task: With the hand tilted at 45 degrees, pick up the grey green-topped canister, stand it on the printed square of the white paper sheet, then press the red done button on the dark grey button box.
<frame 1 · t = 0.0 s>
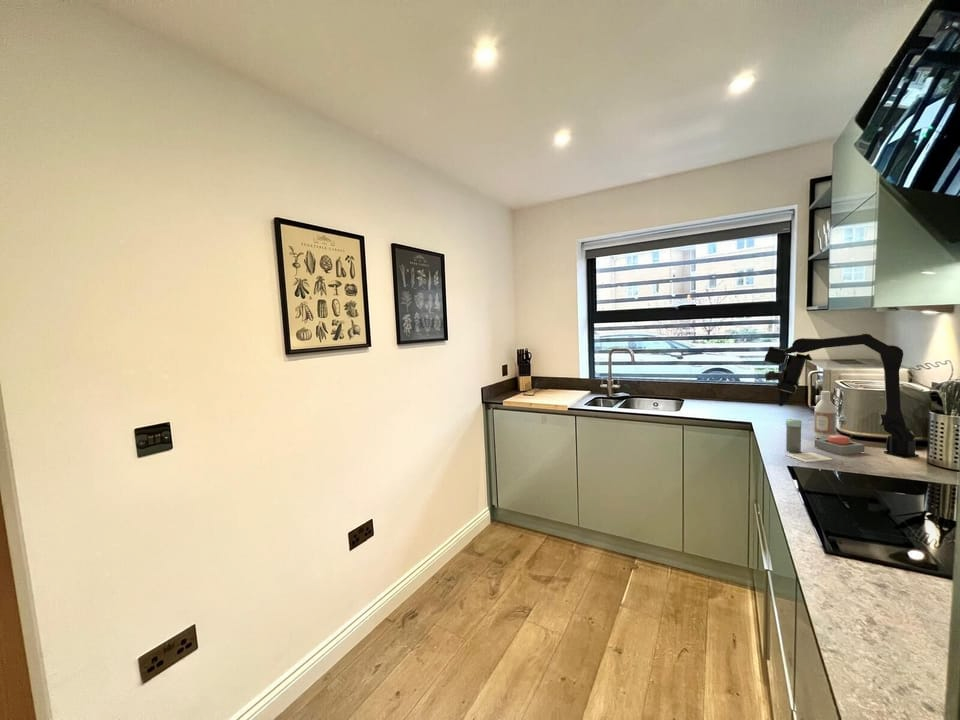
hand: (781, 404, 165), 15 cm above the counter, tool pointing down, fingers open, 9 cm apart
bath foam: (824, 438, 166), on the counter
grey green-topped canister: (793, 451, 151), on the counter
button box: (838, 449, 151), on the counter
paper: (808, 457, 144), on the counter
done button: (838, 441, 150), point 3 cm above the counter, slide at 0.0 cm
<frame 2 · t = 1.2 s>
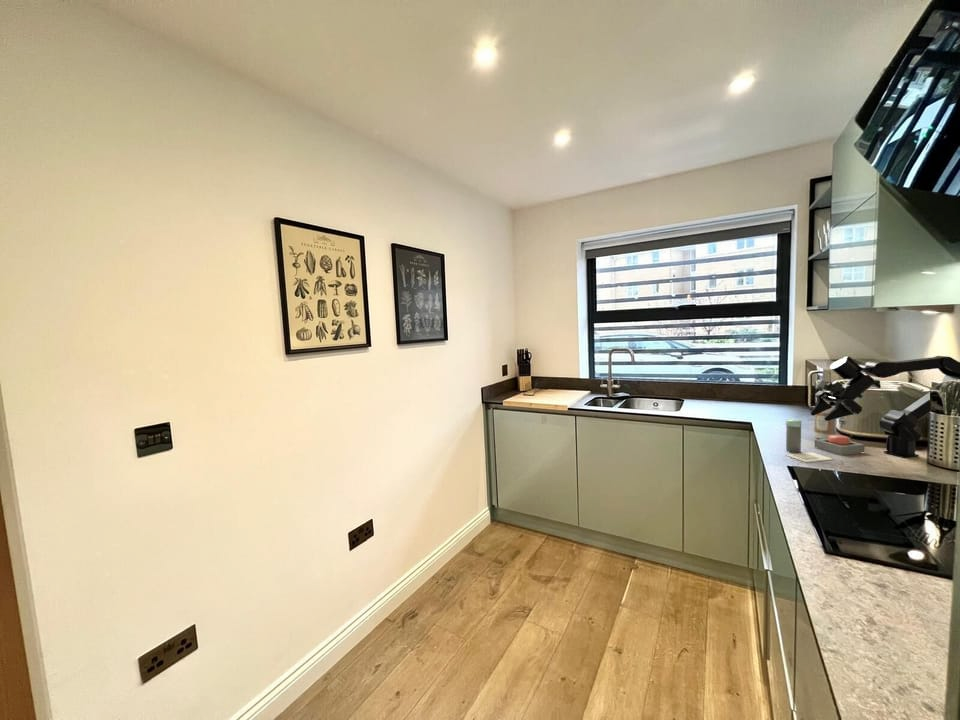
hand: (818, 417, 149), 13 cm above the counter, tool tilted 45°, fingers open, 9 cm apart
nothing on the counter moved.
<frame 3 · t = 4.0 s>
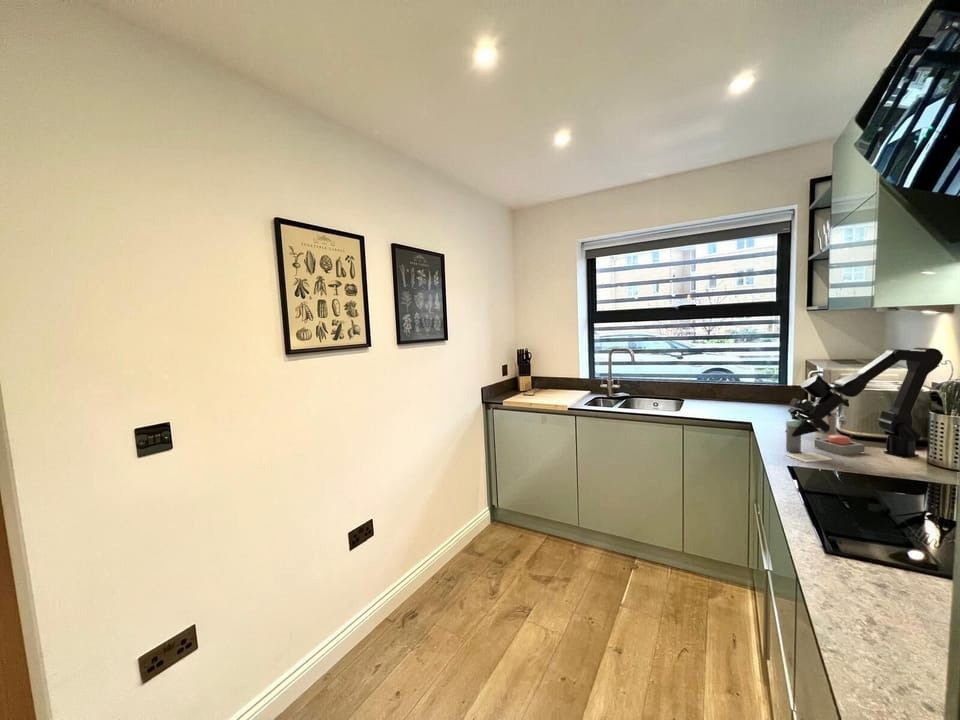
hand: (789, 434, 151), 7 cm above the counter, tool tilted 45°, fingers closed on grey green-topped canister, 4 cm apart
grey green-topped canister: (793, 451, 151), on the counter, touching gripper
everything else where it was.
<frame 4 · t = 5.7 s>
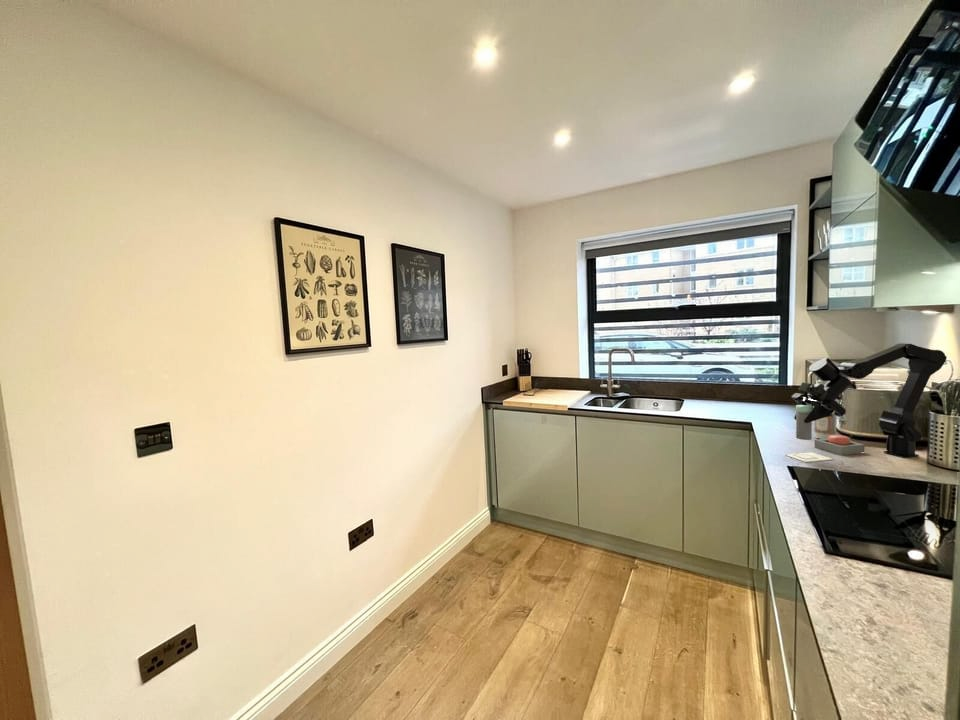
hand: (800, 420, 144), 13 cm above the counter, tool tilted 45°, fingers closed on grey green-topped canister, 4 cm apart
grey green-topped canister: (803, 438, 145), point 7 cm above the counter, touching gripper
everything else where it was.
when the fingers open (7 cm above the counter, at t = 7.5 s): grey green-topped canister stays where it is, resting on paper.
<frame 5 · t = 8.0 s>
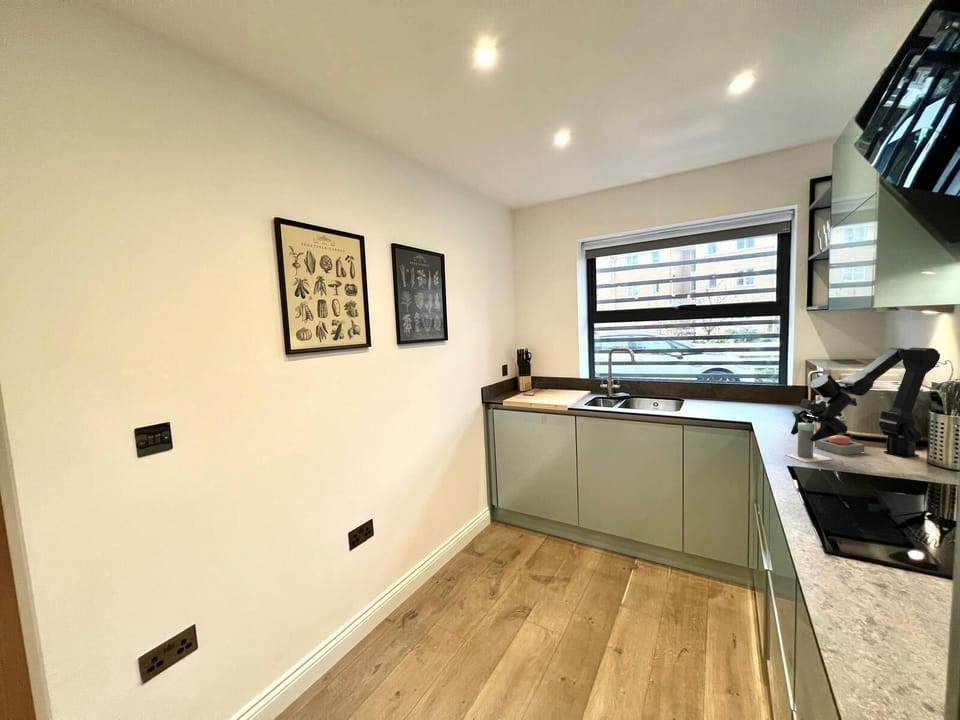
hand: (801, 437, 144), 8 cm above the counter, tool tilted 45°, fingers open, 9 cm apart
grey green-topped canister: (805, 456, 144), resting on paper
everything else where it was.
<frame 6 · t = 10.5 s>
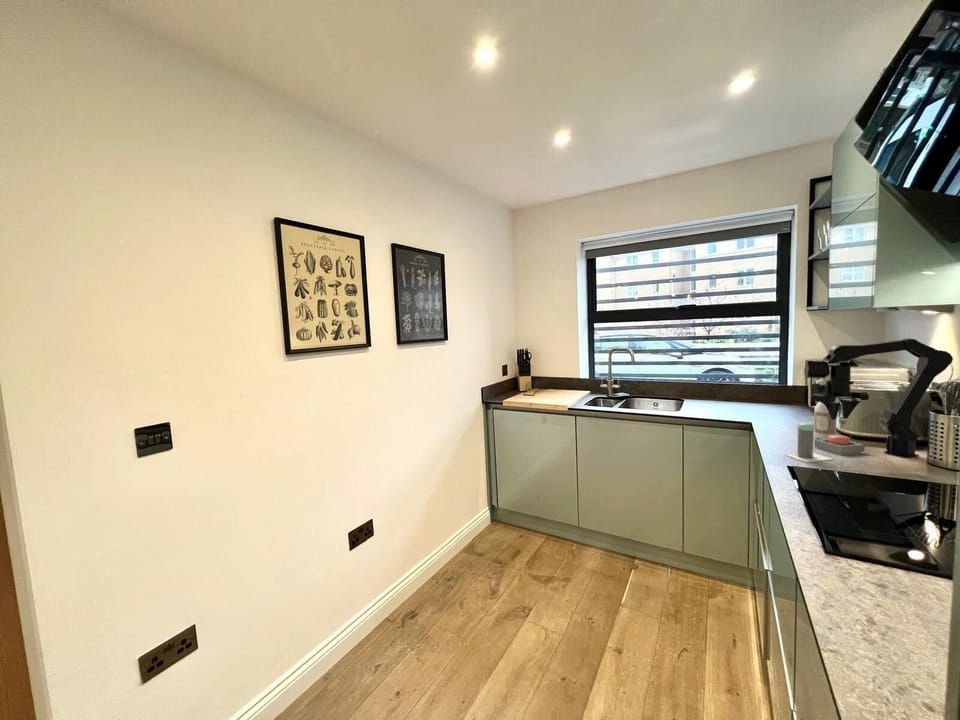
hand: (839, 419, 150), 12 cm above the counter, tool pointing down, fingers open, 5 cm apart
nothing on the counter moved.
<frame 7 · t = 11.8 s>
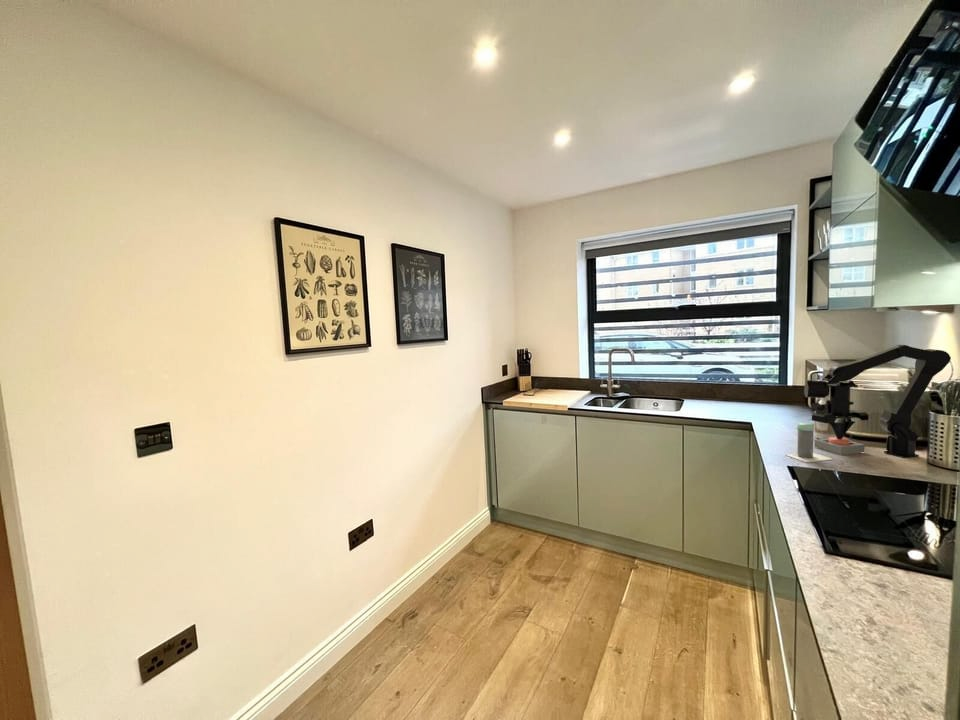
hand: (839, 438, 150), 4 cm above the counter, tool pointing down, fingers closed, pressing on done button
done button: (838, 443, 151), point 3 cm above the counter, slide at 0.8 cm, touching gripper
everything else where it was.
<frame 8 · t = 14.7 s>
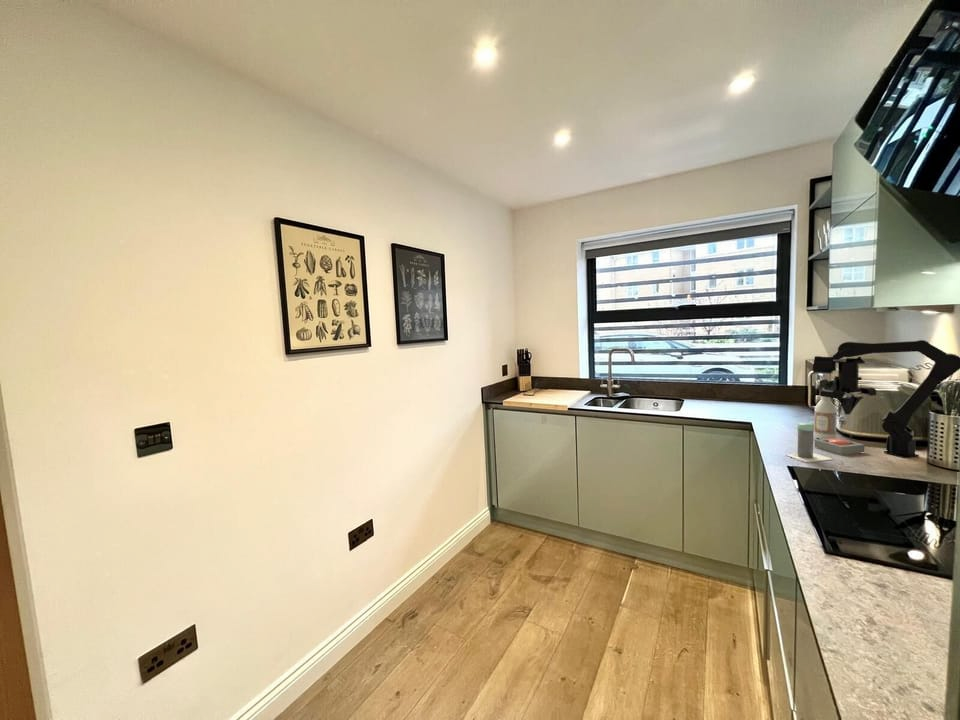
hand: (847, 414, 153), 13 cm above the counter, tool pointing down, fingers closed
done button: (838, 445, 151), point 2 cm above the counter, slide at 1.5 cm
everything else where it was.
at the end: grey green-topped canister inside the target area on the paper (1.1 cm from its centre), point 0.4 cm above the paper's base; grey green-topped canister tilted 0°; done button slide at 1.5 cm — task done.
